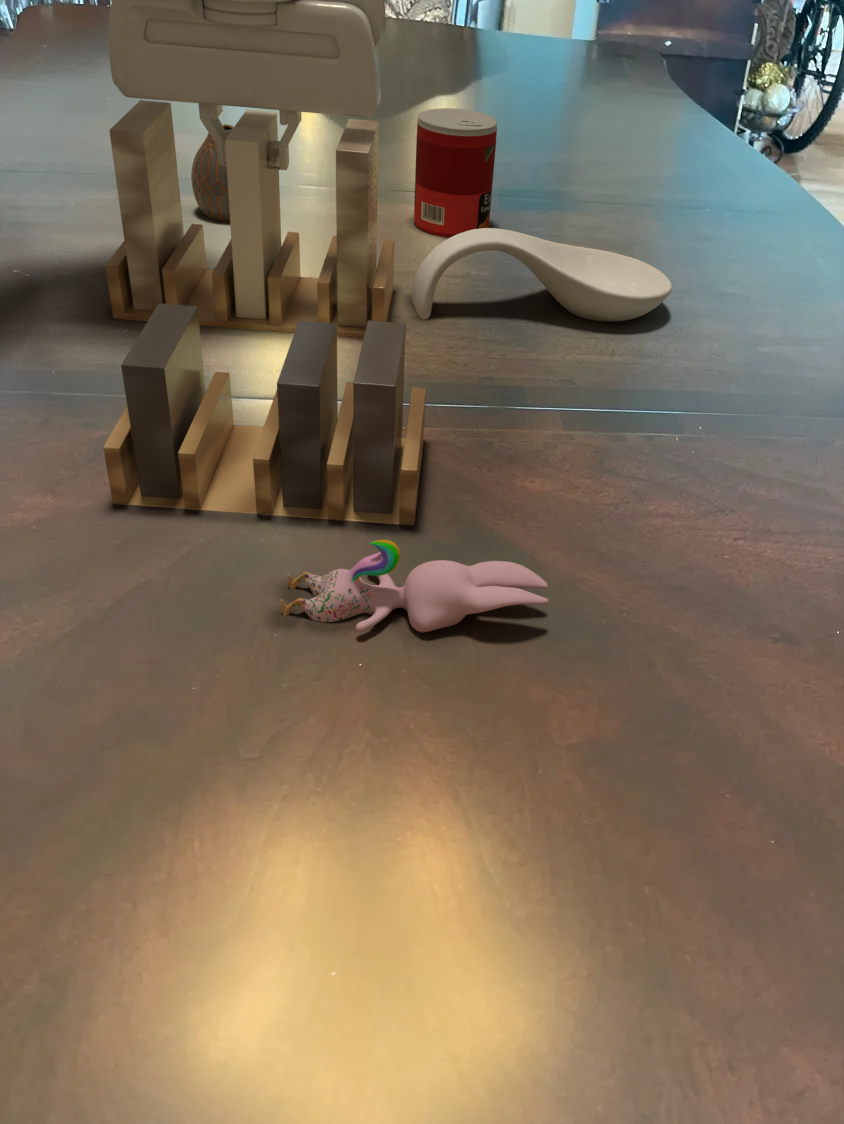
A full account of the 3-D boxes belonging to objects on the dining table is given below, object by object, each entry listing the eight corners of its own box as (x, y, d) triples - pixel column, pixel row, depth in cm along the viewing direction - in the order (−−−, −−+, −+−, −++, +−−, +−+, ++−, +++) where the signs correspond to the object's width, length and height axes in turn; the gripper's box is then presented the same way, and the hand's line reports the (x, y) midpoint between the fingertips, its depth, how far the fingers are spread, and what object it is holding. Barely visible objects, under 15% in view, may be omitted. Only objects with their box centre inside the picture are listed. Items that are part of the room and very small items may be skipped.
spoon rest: (639, 285, 104) (652, 211, 99) (684, 336, 95) (701, 257, 90) (402, 290, 98) (405, 211, 94) (428, 344, 90) (432, 260, 85)
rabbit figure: (284, 665, 59) (551, 651, 58) (261, 580, 55) (546, 564, 54) (301, 597, 64) (547, 584, 63) (281, 515, 60) (543, 499, 59)
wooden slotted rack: (114, 324, 88) (84, 131, 78) (147, 274, 96) (124, 95, 86) (383, 345, 89) (387, 157, 79) (393, 294, 97) (397, 119, 87)
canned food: (494, 244, 109) (504, 130, 102) (417, 242, 108) (422, 127, 101) (482, 218, 115) (490, 109, 108) (409, 216, 114) (413, 106, 107)
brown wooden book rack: (114, 516, 67) (89, 370, 60) (157, 431, 75) (139, 295, 69) (413, 537, 67) (420, 395, 61) (422, 451, 76) (429, 318, 69)
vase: (274, 224, 108) (270, 133, 103) (211, 233, 105) (203, 139, 100) (245, 203, 113) (240, 115, 107) (184, 211, 109) (175, 120, 104)
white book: (236, 317, 88) (224, 139, 79) (254, 276, 95) (246, 109, 86) (266, 320, 88) (258, 142, 79) (282, 279, 95) (277, 112, 86)
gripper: (389, -30, 79) (386, 164, 88) (113, -55, 78) (138, 144, 87) (382, -16, 74) (379, 188, 83) (87, -42, 73) (117, 167, 82)
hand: (254, 165), depth 85 cm, fingers closed on white book, 3 cm apart
